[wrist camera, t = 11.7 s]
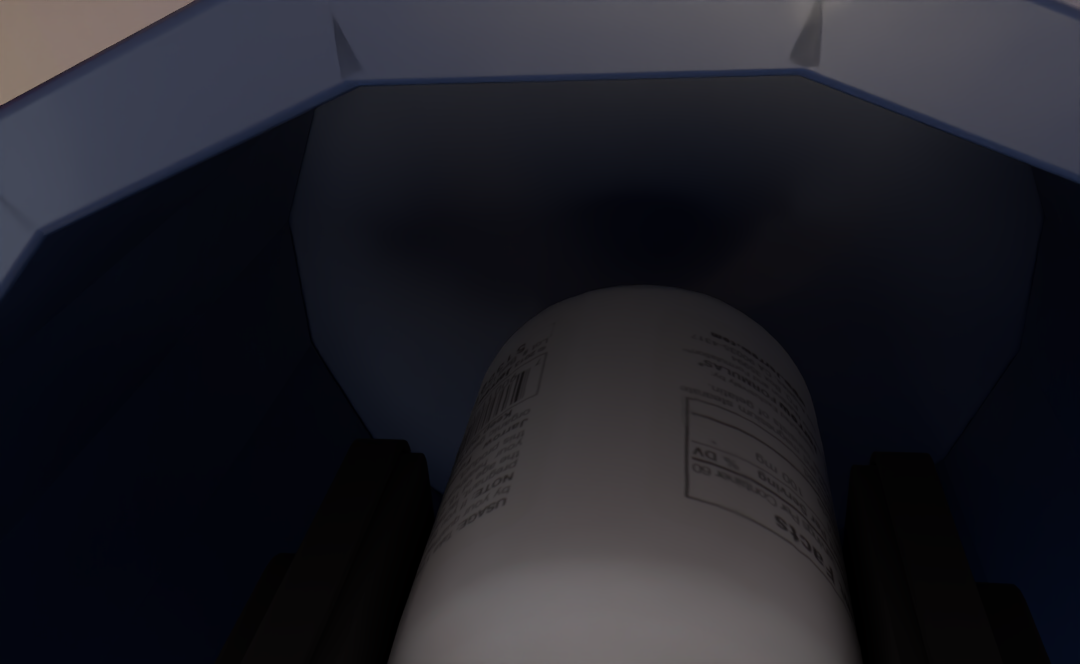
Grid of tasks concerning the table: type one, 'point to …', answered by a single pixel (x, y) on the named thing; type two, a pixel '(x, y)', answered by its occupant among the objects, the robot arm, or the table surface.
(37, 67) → the table surface
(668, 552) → the pill bottle
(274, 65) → the tin
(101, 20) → the table surface
